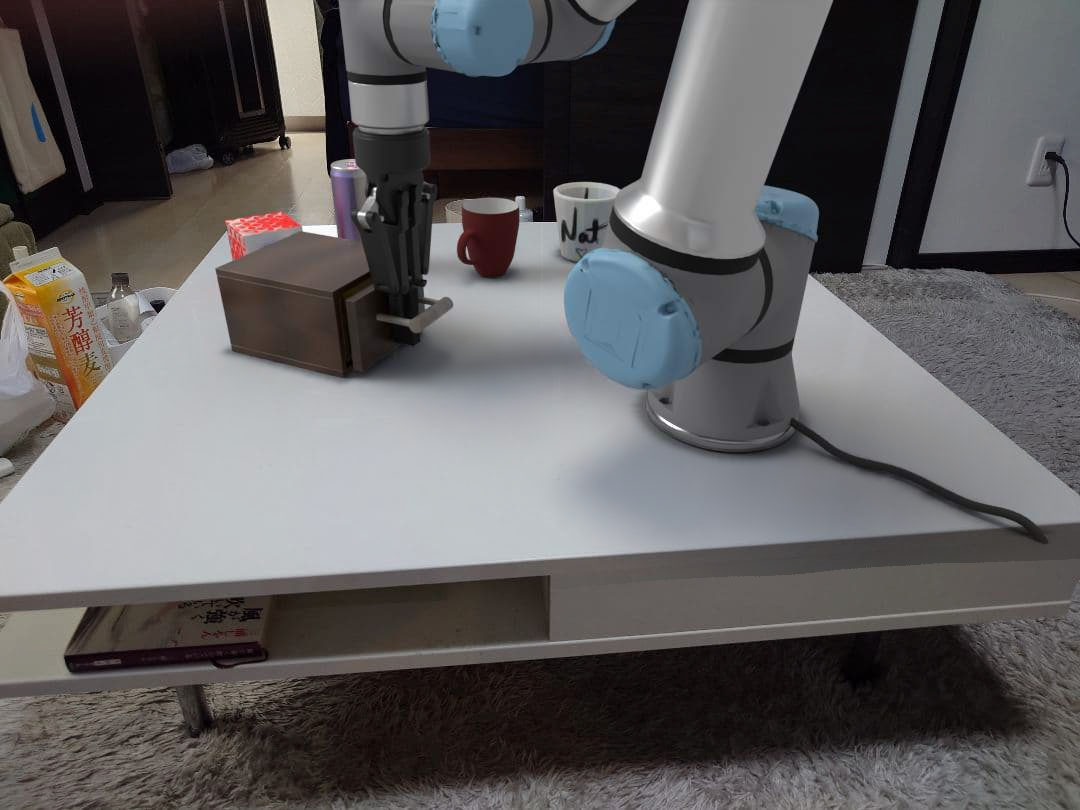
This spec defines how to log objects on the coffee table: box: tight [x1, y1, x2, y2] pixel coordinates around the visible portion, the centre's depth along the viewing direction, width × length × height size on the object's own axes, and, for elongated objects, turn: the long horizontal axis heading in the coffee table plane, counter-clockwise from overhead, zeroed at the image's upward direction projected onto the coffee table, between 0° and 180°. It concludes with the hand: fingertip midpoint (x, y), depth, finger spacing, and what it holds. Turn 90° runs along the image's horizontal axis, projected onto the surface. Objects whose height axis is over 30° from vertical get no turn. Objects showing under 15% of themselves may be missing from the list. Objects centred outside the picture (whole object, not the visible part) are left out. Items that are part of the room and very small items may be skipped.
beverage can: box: [329, 158, 367, 242], centre depth 110 cm, size 6×6×15 cm
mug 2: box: [552, 181, 621, 263], centre depth 120 cm, size 10×15×10 cm
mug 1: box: [456, 197, 520, 279], centre depth 109 cm, size 11×8×10 cm
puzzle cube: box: [225, 211, 304, 261], centre depth 108 cm, size 8×8×8 cm
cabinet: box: [214, 231, 371, 379], centre depth 90 cm, size 16×15×10 cm
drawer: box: [338, 275, 454, 373], centre depth 89 cm, size 20×13×8 cm, turn 67°
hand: (407, 341), depth 88 cm, fingers closed
